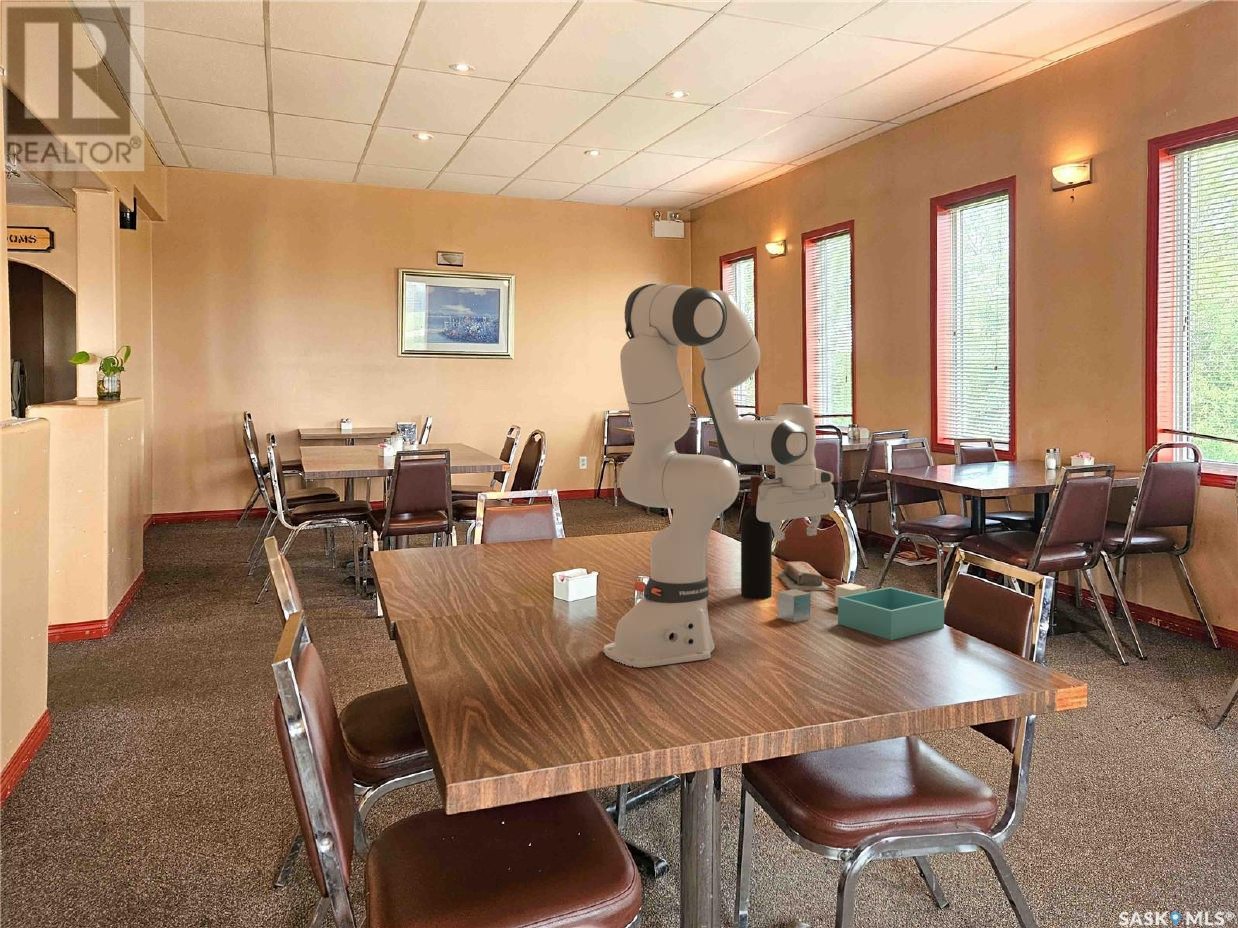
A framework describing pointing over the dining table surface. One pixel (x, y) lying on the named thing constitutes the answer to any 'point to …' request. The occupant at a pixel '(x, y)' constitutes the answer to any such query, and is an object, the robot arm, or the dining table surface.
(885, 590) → the box
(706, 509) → the robot arm
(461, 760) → the dining table surface
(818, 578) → the packaged product
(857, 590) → the cream box
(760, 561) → the wine bottle
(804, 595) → the steel block
